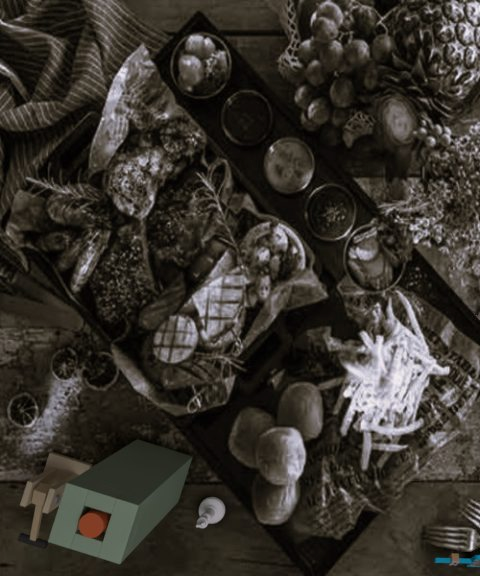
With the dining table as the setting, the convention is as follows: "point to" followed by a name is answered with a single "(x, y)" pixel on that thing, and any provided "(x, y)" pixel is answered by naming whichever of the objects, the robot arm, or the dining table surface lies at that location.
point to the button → (93, 523)
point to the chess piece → (210, 511)
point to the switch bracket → (54, 479)
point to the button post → (121, 499)
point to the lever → (37, 517)
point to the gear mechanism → (459, 560)
